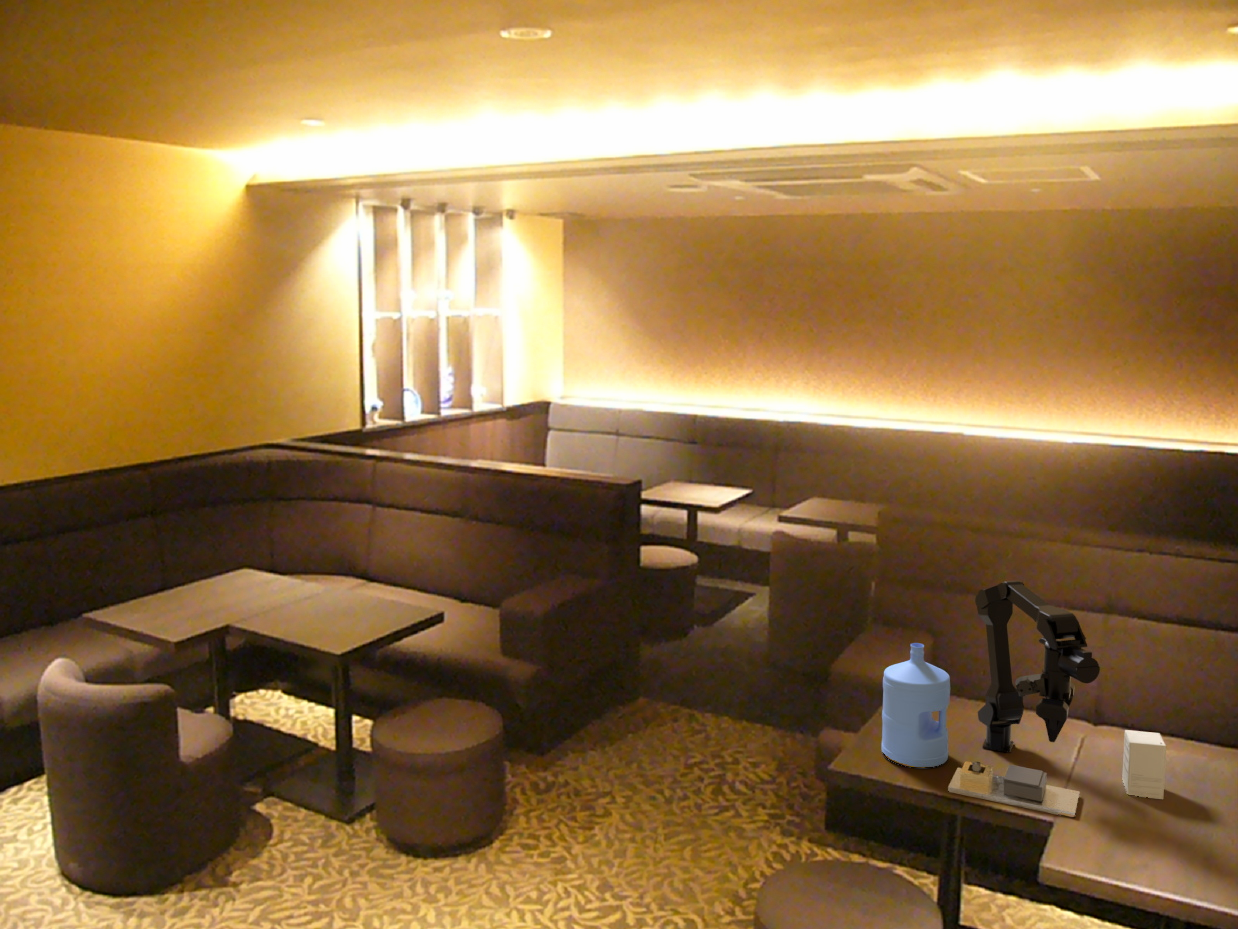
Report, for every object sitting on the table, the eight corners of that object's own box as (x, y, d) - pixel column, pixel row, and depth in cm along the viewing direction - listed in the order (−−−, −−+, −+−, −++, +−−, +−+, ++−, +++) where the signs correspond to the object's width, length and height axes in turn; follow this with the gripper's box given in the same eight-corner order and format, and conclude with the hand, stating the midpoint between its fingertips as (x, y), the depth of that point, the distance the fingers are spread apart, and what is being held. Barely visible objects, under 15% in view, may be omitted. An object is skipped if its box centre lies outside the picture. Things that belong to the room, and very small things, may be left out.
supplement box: (1157, 785, 223) (1160, 732, 221) (1163, 800, 216) (1167, 746, 214) (1121, 781, 225) (1124, 728, 223) (1126, 796, 218) (1129, 741, 216)
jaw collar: (964, 773, 227) (965, 761, 227) (992, 779, 225) (992, 766, 224) (960, 784, 222) (960, 771, 222) (988, 789, 219) (988, 777, 219)
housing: (1009, 779, 224) (1009, 764, 223) (1046, 786, 220) (1046, 771, 219) (1003, 793, 217) (1004, 778, 216) (1041, 801, 213) (1042, 786, 212)
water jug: (873, 761, 237) (876, 649, 233) (890, 738, 251) (892, 631, 247) (940, 775, 229) (944, 659, 226) (953, 750, 243) (957, 640, 239)
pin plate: (957, 772, 231) (958, 749, 230) (1079, 796, 218) (1080, 772, 217) (948, 791, 221) (948, 768, 221) (1074, 818, 209) (1076, 793, 208)
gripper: (1024, 650, 232) (1021, 713, 234) (1012, 675, 216) (1010, 742, 218) (1076, 657, 227) (1073, 722, 229) (1068, 683, 211) (1064, 752, 213)
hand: (1054, 734), depth 222 cm, fingers open, 9 cm apart
